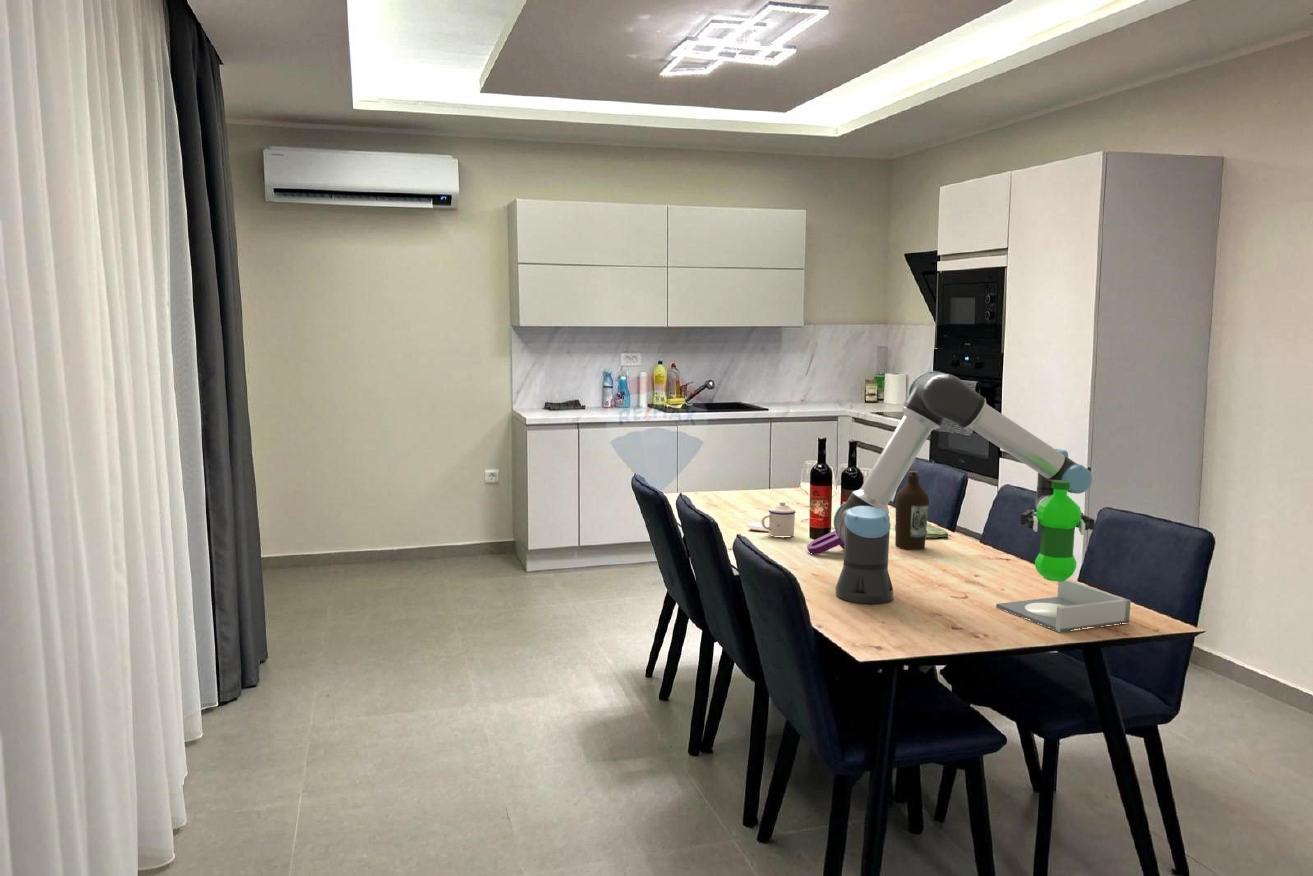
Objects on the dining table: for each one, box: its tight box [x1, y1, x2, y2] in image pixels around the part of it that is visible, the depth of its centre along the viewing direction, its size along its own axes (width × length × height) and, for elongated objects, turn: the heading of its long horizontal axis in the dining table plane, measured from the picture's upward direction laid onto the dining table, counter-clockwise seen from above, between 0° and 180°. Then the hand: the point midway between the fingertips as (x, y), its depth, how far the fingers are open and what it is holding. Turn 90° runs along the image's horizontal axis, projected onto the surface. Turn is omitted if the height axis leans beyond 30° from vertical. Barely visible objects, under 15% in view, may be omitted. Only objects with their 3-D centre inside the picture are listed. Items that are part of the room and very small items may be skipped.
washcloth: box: [894, 523, 949, 539], centre depth 341 cm, size 13×18×3 cm
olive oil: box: [894, 470, 930, 550], centre depth 319 cm, size 11×11×25 cm
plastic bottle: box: [1034, 480, 1082, 582], centre depth 245 cm, size 10×10×25 cm
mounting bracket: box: [806, 530, 844, 555], centre depth 310 cm, size 10×8×18 cm
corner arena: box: [995, 579, 1132, 633], centre depth 247 cm, size 22×22×6 cm
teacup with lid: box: [760, 501, 796, 537], centre depth 333 cm, size 12×9×12 cm
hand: (1059, 527), depth 241 cm, fingers closed on plastic bottle, 10 cm apart
